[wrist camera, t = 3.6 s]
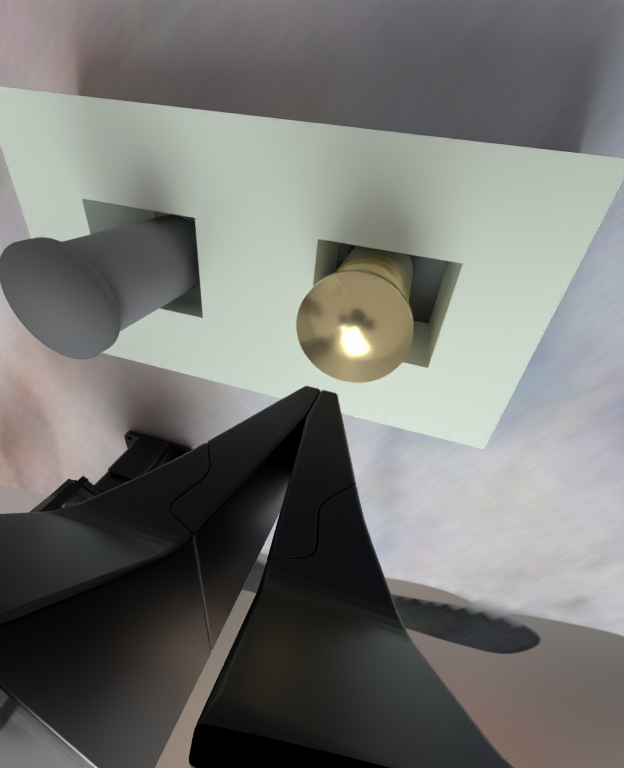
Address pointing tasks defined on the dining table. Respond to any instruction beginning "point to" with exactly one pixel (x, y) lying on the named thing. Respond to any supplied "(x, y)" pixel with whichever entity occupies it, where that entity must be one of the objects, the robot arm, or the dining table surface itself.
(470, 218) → the block
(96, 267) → the graphite plug
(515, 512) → the dining table surface
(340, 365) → the brass plug
